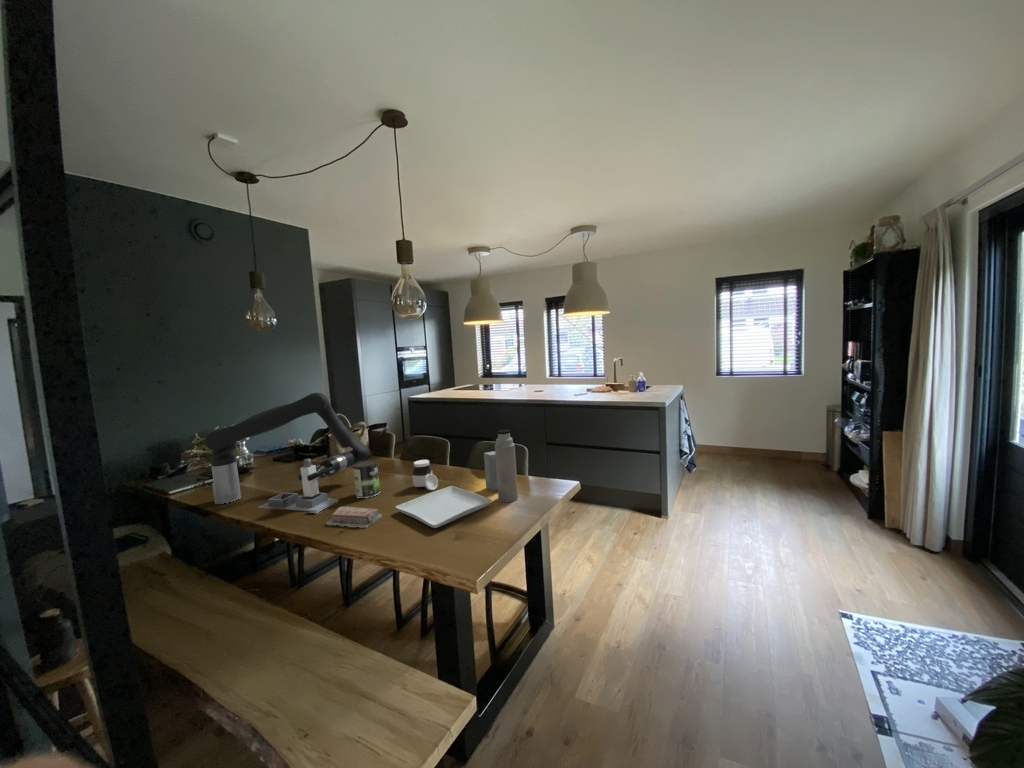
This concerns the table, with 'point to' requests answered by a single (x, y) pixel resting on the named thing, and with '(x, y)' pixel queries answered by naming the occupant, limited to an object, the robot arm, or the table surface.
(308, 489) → the plug
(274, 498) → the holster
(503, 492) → the thermos bottle
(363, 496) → the coffee can
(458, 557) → the table surface
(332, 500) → the panel
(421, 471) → the spread jar
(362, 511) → the packaged product
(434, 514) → the square plate
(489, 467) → the skincare box
